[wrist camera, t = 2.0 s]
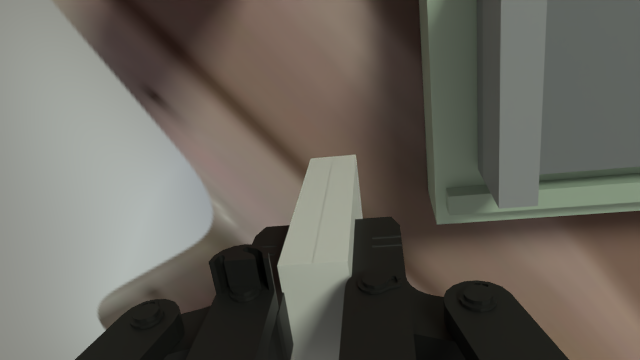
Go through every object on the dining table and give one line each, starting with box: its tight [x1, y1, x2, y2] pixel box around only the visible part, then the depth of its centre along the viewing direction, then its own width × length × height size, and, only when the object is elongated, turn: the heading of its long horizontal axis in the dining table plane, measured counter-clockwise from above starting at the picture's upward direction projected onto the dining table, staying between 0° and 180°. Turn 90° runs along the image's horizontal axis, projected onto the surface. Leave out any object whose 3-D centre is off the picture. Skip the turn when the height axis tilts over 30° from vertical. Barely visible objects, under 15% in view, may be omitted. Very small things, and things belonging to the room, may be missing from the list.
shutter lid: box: [477, 0, 640, 209], centre depth 19 cm, size 10×10×4 cm
